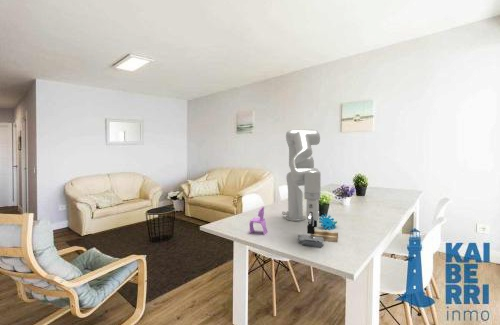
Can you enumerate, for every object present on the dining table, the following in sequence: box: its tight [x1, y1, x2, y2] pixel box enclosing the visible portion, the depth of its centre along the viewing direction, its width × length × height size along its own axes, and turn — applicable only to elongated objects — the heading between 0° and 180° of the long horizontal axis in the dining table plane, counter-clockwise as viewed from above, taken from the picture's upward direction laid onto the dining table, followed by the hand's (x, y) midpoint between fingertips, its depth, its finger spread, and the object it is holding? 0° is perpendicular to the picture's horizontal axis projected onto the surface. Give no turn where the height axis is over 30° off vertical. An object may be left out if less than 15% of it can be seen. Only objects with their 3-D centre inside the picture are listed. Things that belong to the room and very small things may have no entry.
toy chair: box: [249, 206, 269, 236], centre depth 140 cm, size 8×9×15 cm
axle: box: [297, 234, 324, 245], centre depth 122 cm, size 12×3×3 cm, turn 68°
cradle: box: [301, 240, 324, 249], centre depth 121 cm, size 9×7×3 cm
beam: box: [309, 229, 339, 243], centre depth 129 cm, size 13×8×3 cm, turn 68°
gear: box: [318, 214, 338, 231], centre depth 147 cm, size 11×6×10 cm
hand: (312, 230), depth 122 cm, fingers open, 9 cm apart
